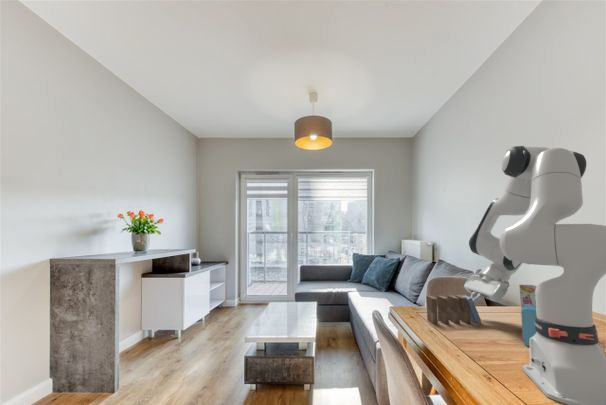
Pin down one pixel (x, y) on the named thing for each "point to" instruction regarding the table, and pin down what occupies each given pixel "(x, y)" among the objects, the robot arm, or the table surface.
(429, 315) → the domino
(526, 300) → the candy bar box
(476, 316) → the domino
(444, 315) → the domino
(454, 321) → the domino
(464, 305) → the domino
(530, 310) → the data package
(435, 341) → the table surface
